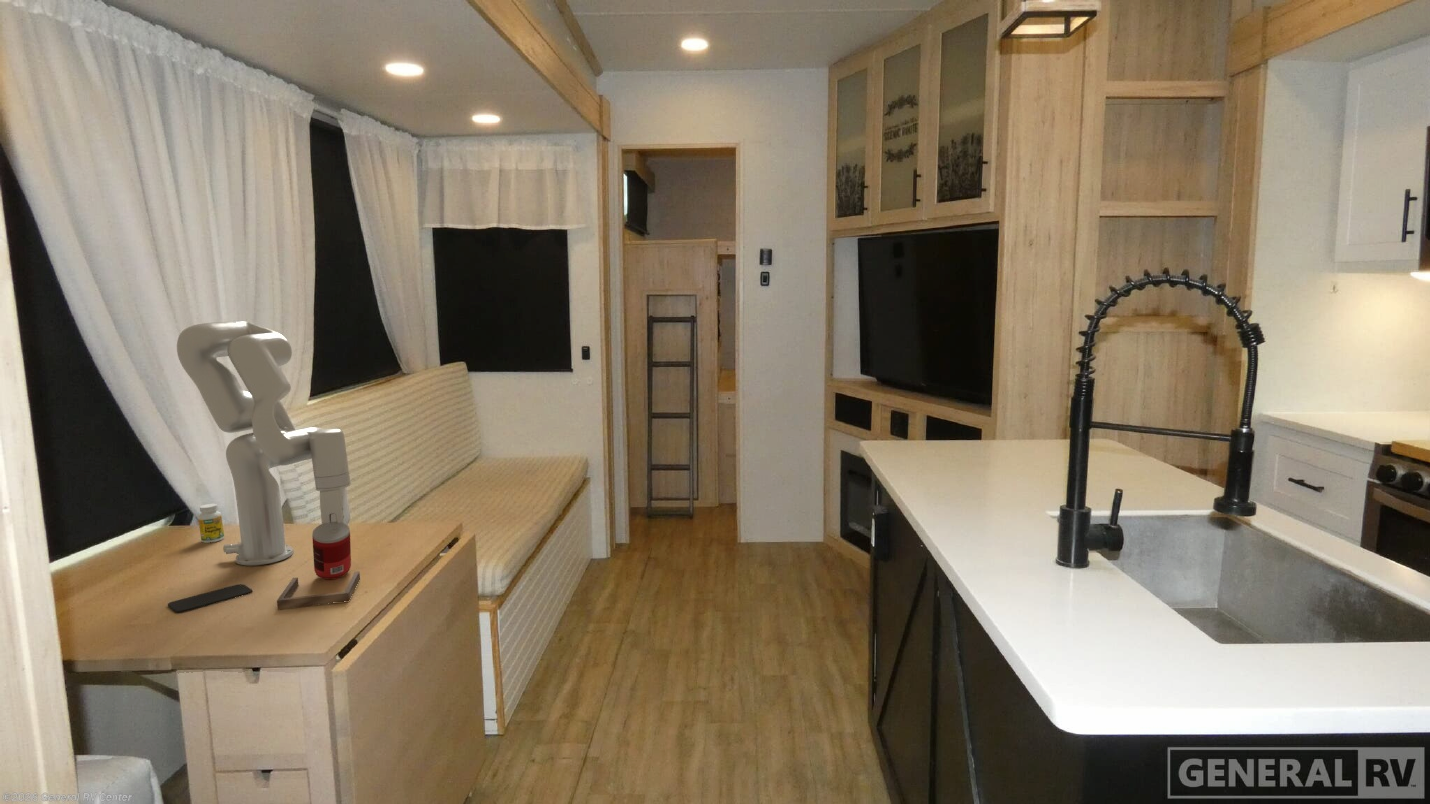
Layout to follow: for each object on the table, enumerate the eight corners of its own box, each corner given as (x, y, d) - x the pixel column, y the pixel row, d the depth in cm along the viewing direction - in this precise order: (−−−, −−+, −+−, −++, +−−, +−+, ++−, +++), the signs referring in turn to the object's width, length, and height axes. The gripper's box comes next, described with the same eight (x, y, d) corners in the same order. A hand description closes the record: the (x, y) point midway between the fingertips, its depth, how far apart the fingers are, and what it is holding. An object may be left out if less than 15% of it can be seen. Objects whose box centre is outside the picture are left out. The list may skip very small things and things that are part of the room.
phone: (254, 590, 182) (177, 612, 171) (254, 594, 182) (177, 615, 171) (241, 583, 187) (165, 603, 176) (242, 586, 187) (166, 606, 176)
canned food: (357, 564, 195) (356, 525, 190) (338, 583, 188) (336, 544, 183) (327, 556, 196) (326, 518, 191) (307, 576, 188) (304, 536, 184)
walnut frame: (277, 609, 172) (276, 600, 172) (293, 586, 185) (292, 577, 185) (349, 601, 175) (348, 593, 175) (360, 579, 188) (359, 571, 188)
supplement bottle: (221, 535, 223) (217, 501, 222) (226, 539, 220) (222, 505, 218) (198, 540, 220) (194, 505, 218) (203, 544, 216) (199, 509, 214)
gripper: (321, 476, 200) (331, 548, 202) (308, 490, 185) (319, 567, 188) (354, 472, 202) (363, 544, 204) (344, 486, 187) (354, 563, 190)
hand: (342, 555), depth 196 cm, fingers closed
